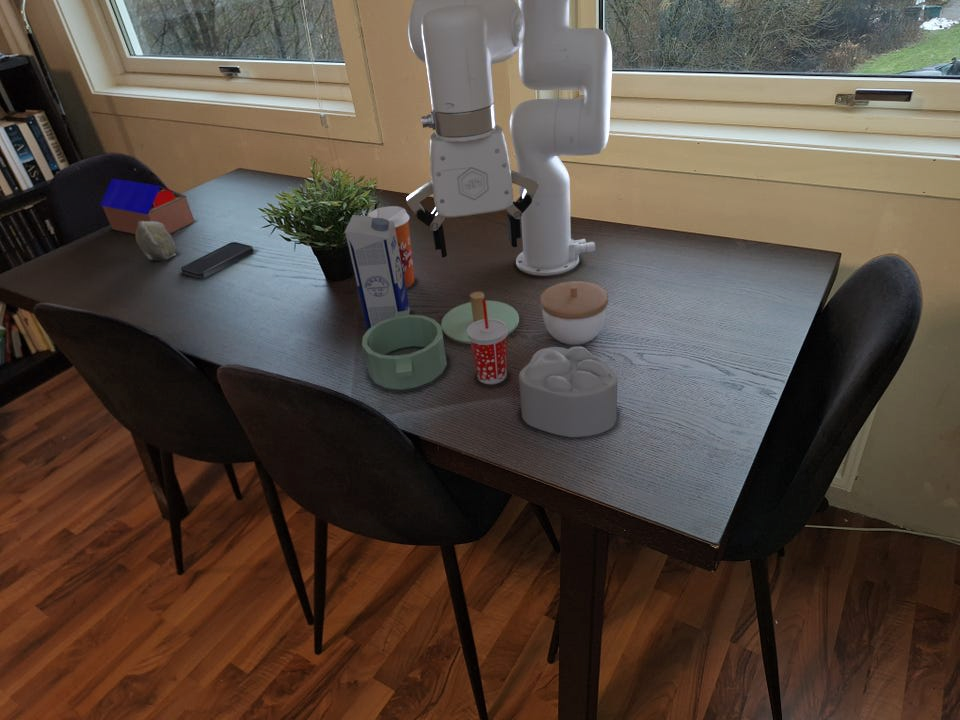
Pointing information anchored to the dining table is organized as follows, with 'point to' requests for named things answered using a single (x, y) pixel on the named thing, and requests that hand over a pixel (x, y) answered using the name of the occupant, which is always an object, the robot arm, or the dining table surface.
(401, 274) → the milk carton
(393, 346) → the pot
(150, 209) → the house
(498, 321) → the beverage cup
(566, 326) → the trinket box
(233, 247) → the phone
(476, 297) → the lid
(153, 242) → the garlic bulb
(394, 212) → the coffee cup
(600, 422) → the lumpy-topped squat cylinder
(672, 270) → the dining table surface
